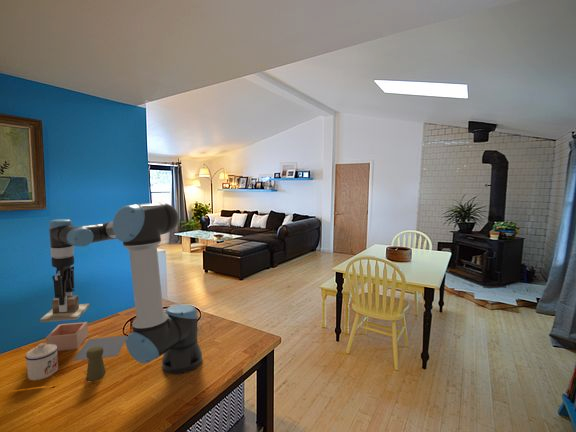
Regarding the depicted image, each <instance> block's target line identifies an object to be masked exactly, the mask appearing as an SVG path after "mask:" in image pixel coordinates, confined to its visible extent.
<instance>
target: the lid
mask: <svg viewBox="0 0 576 432" xmlns="http://www.w3.org/2000/svg"><path fill="white" fill-rule="evenodd" d="M51 304H52V305H51V307H52V309H50V310H49V311H48V312H47V313H45V315H43V316H42V317H41V318H40V319H39V322H40V323H48V322H51V323H52V322H62V321H73V320H74V321H75V320H78V319H79V318H80V317H81V316H82V315H83V314H84V313H85V312H86V311H87V309H88V308H90V306H91V305H90V304H91V303H79V295H77V294H76V295H72V296H67V309H68V311H67V312H59V300H58V298H55V297H54V298H53V299H52V300H51Z"/></svg>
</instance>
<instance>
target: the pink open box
mask: <svg viewBox="0 0 576 432" xmlns="http://www.w3.org/2000/svg"><path fill="white" fill-rule="evenodd" d="M88 328H89V327H88V321H84V322H72V323H62V324H61V323H60V324H58V325H57V326H56V327H54V328H53V330H52V331H51V332H50V333H48V335H47V336H45V344H54V345H56V346H57V347H58V349H57V352H61V351H62V352H63V351H73V350H78V349H79V348H80V347H81V345H82V344H83V343H84V342H85V340H86V339H87V337H88V336H89V330H88Z"/></svg>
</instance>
